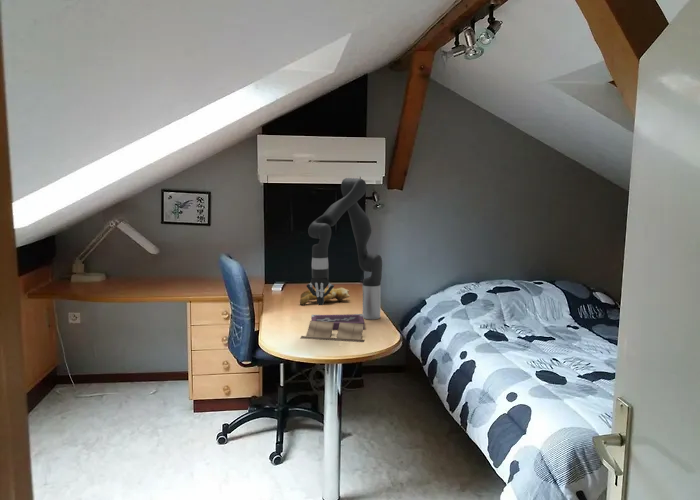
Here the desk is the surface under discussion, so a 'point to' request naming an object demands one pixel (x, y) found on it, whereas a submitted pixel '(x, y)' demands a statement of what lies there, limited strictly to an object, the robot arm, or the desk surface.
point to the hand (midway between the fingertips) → (320, 304)
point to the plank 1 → (320, 329)
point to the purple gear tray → (339, 319)
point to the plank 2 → (350, 330)
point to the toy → (333, 294)
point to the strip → (332, 339)
